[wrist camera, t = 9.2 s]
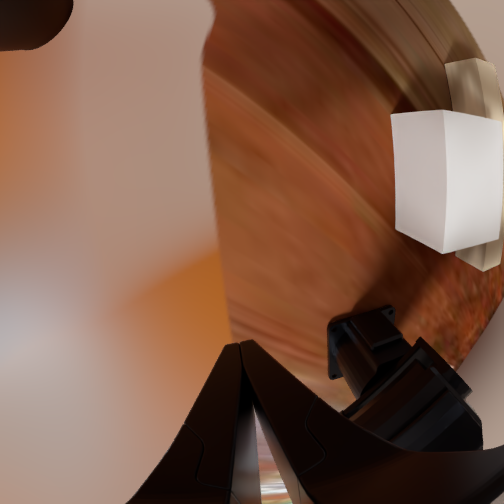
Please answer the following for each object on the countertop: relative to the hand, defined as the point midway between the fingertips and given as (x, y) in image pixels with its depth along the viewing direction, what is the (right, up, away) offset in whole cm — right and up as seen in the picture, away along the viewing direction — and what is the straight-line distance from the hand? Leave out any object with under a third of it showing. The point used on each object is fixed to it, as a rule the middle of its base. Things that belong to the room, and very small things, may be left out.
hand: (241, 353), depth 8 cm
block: (+14, +10, +12) cm, 21 cm away
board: (+20, +11, +12) cm, 26 cm away
